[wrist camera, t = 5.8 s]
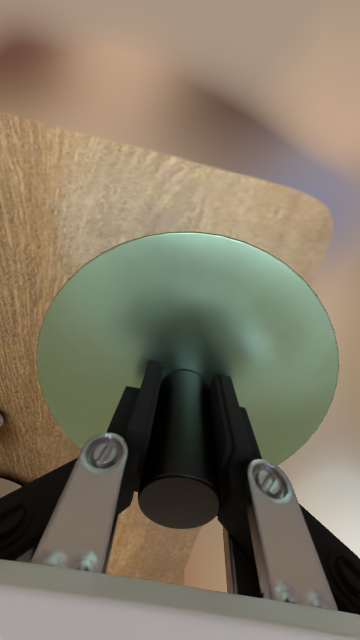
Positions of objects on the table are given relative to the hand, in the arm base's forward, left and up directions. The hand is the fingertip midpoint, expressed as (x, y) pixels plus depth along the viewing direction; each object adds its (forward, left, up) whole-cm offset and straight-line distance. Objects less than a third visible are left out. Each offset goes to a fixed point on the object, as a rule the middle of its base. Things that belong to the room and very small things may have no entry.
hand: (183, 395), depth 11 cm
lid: (0, 0, -1) cm, 1 cm away
